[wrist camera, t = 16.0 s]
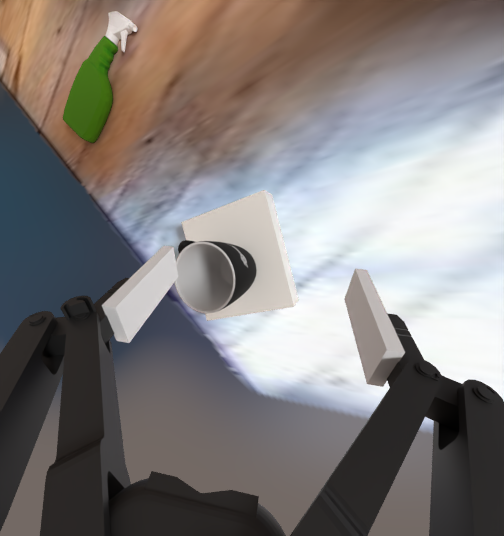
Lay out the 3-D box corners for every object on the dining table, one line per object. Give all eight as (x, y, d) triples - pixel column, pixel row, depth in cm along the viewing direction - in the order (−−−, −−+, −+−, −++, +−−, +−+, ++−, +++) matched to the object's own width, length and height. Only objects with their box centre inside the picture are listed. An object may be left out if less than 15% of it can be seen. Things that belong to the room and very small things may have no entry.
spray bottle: (72, 123, 55) (114, 11, 47) (98, 149, 52) (147, 35, 44) (58, 117, 52) (100, -4, 44) (84, 143, 49) (134, 21, 42)
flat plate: (195, 223, 44) (181, 222, 40) (272, 194, 38) (264, 189, 34) (218, 314, 44) (207, 320, 41) (299, 300, 38) (294, 306, 34)
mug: (275, 262, 35) (249, 271, 25) (245, 306, 37) (211, 328, 28) (217, 219, 38) (175, 212, 28) (193, 263, 40) (147, 270, 31)
